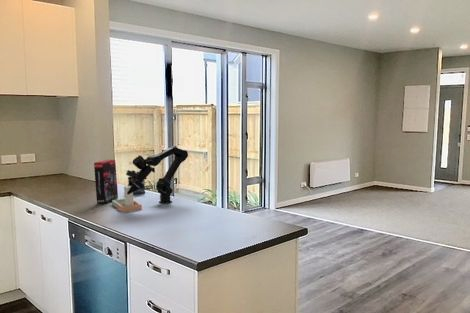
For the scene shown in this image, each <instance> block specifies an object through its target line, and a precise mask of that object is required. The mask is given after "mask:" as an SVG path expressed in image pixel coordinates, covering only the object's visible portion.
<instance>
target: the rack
mask: <svg viewBox="0 0 470 313" xmlns="http://www.w3.org/2000/svg"><path fill="white" fill-rule="evenodd" d="M133 201H134V205H128V206H127V205H126V204H125V198H120V199H119V198H117V199H115V200H112V201H111V204H112V206H114V208H116V209H118V210H119V211H120V212H121V213H126V212H131V211H132V212H133V211H139V210H143V205H142V204H141V203H140V202H139V201H137V200H135V199H133Z"/></svg>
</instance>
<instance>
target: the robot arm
mask: <svg viewBox="0 0 470 313" xmlns="http://www.w3.org/2000/svg"><path fill="white" fill-rule="evenodd" d="M172 155H174V156H173V159H174V160H173V161H172V163H171V164H170V166H169V168H168V169H167V171H166V173H165V175H164V176H163V177H160V178H158V180H157V182H156V185H155V188H156V190H157V192H158V193H159V200H160V201H158V203H161V204H169V203H173V201H172V200H171V194H173V189H172V188H171V183H172V182H171V181H172V179H173V178H174V176H175V174H176V172H177V170H178V169H179V167H180V165H181V164H182V163H184V162H185V161H186V160H187V158H188V157H189V153H188V150H186V149H185V150H183V149H182V148H179V147H177V146H169V147H167V149H164V150H162V151H161V152H159V153H157V154H153V155H149V156H147V157H146V158H144V157H143V156H142V155H138V156H137V157H135V158H134V159H133V160H132V165H134V166H135V167H136V168H137V169H138V170H139V171H136V170H129V169H127V171H126V172H125V173H126V174H125V175H126V176H128V178H127V183H128V185H127V186H131V188H130V189H129V191H128V192H127V194H130V193H132V192H134V191H137V190H139V189H140V188H141V189H143V188H144V184H143V183H142V182H143V181H144V180H145V181H146V179H148V178H147V177H148V176H149V175H150V174H151V173H156V170H155V169H156V168H155V167H157V166H158V165H159V164H160V163H161V162H162V160H165V159H167V158H168V157H169V156H172Z"/></svg>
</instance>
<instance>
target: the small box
mask: <svg viewBox="0 0 470 313" xmlns="http://www.w3.org/2000/svg"><path fill="white" fill-rule="evenodd" d="M145 181H146V179H145V180H144V181H143V182H142V183H143V184H144V188H143V189H141V188H140V189H139V190H137V191H134V192H133V195H140V194H141V195H143V194H146V186H145V185H146V184H145V183H146V182H145Z"/></svg>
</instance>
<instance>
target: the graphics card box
mask: <svg viewBox="0 0 470 313" xmlns="http://www.w3.org/2000/svg"><path fill="white" fill-rule="evenodd" d="M116 163H117V162H116V160H115V159H105V160H102V161H101V160H100V161H97V162H93V166H94V170H93V171H94V179H95V180H94V181H95V182H94V183H95V191H96V192H95V193H96V195H95V196H96V204H97V205H106V204H109V203H110V202H111V203H112V200H117V199H119V194H118V179H117V178H118V176H117V167H116V166H117V165H116Z"/></svg>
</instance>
